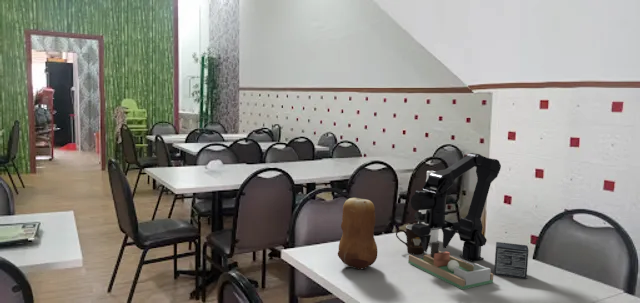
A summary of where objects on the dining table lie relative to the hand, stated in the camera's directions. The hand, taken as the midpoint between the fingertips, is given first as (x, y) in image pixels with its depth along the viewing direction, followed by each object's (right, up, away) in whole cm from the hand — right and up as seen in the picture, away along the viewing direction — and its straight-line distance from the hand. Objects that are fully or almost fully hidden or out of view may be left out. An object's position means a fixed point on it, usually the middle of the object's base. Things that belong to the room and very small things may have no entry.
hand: (435, 249), depth 177 cm
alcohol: (+4, -3, +32) cm, 32 cm away
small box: (+25, -8, -6) cm, 27 cm away
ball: (+4, -4, -8) cm, 10 cm away
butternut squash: (-29, -6, -4) cm, 30 cm away
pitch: (+3, -7, -6) cm, 9 cm away
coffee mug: (-5, -4, +16) cm, 17 cm away
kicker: (0, -5, 0) cm, 5 cm away
